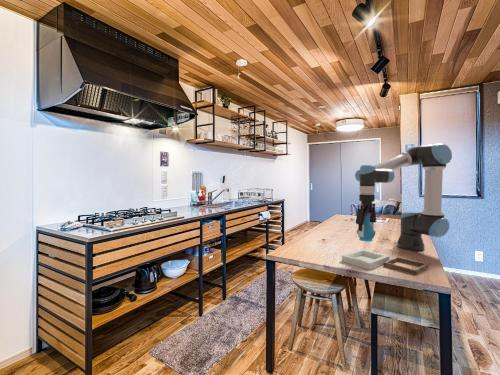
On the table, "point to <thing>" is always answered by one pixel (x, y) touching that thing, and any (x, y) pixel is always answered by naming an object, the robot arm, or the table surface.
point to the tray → (365, 259)
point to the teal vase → (367, 229)
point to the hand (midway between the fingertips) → (365, 235)
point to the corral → (390, 264)
